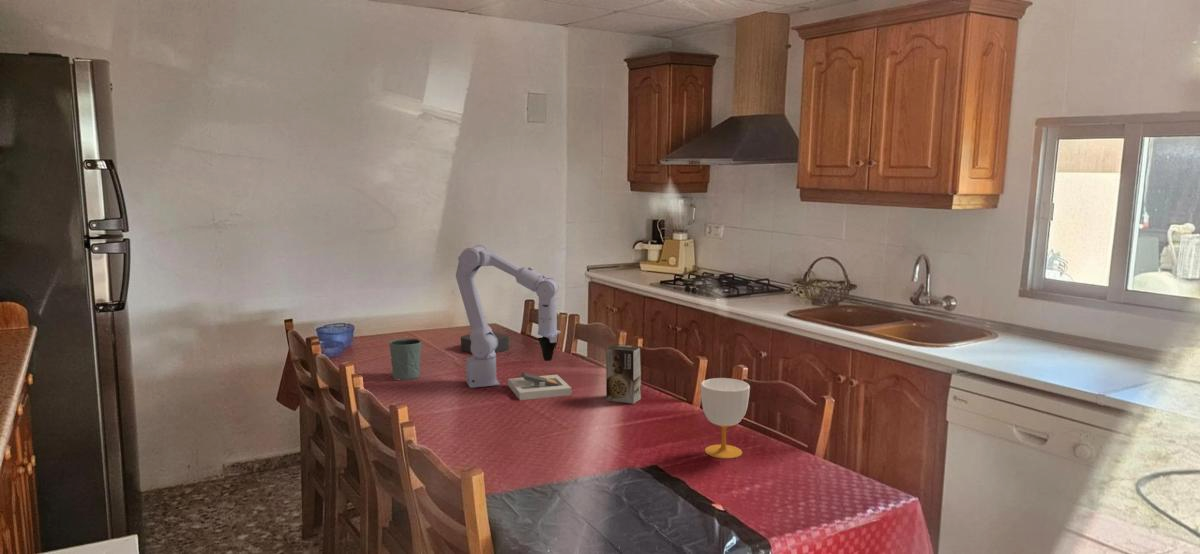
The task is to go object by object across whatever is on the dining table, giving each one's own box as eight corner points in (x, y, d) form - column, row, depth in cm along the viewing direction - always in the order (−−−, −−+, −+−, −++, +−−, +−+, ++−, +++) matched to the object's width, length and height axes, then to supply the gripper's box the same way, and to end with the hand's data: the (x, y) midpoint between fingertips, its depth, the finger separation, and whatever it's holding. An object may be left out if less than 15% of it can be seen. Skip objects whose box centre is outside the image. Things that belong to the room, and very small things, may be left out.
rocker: (524, 379, 238) (526, 375, 238) (521, 375, 243) (522, 371, 243) (557, 388, 242) (559, 384, 242) (553, 384, 247) (554, 380, 247)
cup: (736, 464, 183) (738, 394, 181) (691, 454, 189) (692, 386, 187) (755, 449, 193) (757, 382, 191) (711, 440, 199) (712, 375, 197)
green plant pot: (384, 379, 255) (383, 343, 253) (403, 371, 264) (402, 336, 263) (410, 382, 251) (409, 346, 250) (428, 374, 261) (427, 339, 259)
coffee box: (641, 398, 235) (642, 346, 232) (633, 404, 229) (634, 350, 227) (614, 394, 238) (614, 343, 236) (605, 400, 233) (605, 347, 230)
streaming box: (457, 350, 296) (457, 336, 295) (487, 343, 307) (487, 330, 306) (482, 356, 286) (482, 342, 286) (512, 349, 297) (511, 336, 296)
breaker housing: (520, 400, 233) (519, 388, 232) (508, 385, 248) (508, 375, 247) (571, 395, 238) (571, 384, 237) (557, 381, 253) (557, 370, 252)
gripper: (566, 321, 238) (566, 365, 240) (553, 312, 251) (553, 354, 253) (543, 322, 236) (543, 366, 238) (532, 313, 249) (532, 355, 251)
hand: (547, 360), depth 245 cm, fingers closed
